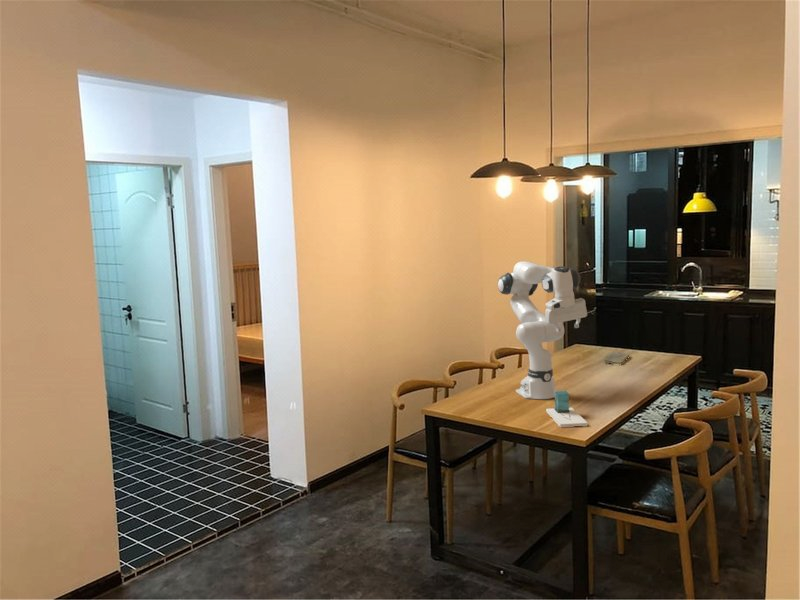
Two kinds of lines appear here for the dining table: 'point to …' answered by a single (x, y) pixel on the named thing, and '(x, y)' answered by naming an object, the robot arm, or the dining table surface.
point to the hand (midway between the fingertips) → (567, 329)
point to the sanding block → (561, 401)
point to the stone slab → (616, 358)
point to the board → (567, 418)
